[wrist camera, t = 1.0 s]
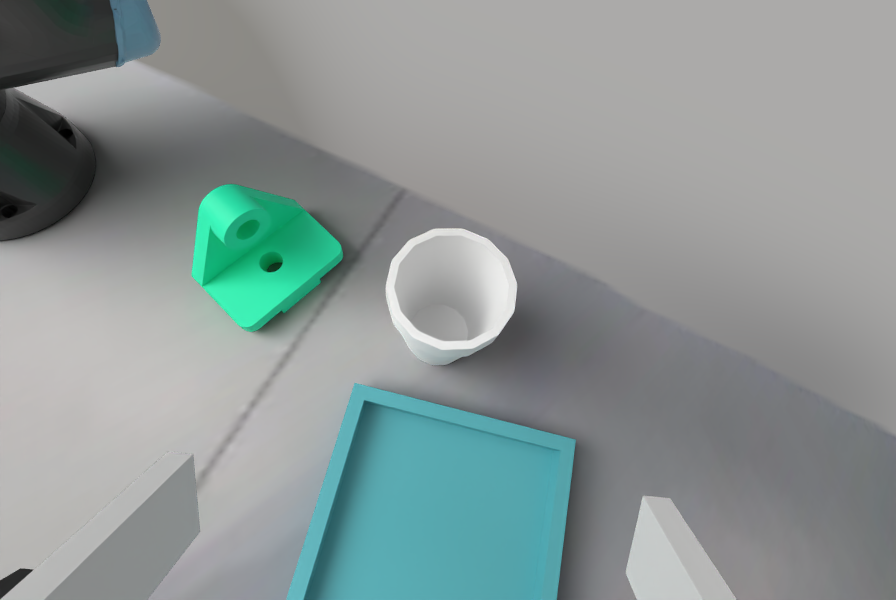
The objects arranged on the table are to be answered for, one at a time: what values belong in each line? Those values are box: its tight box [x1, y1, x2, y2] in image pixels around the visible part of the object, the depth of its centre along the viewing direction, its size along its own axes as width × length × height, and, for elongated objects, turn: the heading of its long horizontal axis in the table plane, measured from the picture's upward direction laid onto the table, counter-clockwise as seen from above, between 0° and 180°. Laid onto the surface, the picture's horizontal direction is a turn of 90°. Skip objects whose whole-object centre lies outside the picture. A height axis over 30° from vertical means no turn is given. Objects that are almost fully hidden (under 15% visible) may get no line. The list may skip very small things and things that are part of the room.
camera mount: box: [192, 184, 343, 332], centre depth 38 cm, size 12×8×10 cm, turn 137°
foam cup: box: [385, 228, 517, 365], centre depth 36 cm, size 10×9×13 cm
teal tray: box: [286, 383, 576, 600], centre depth 35 cm, size 20×20×3 cm
